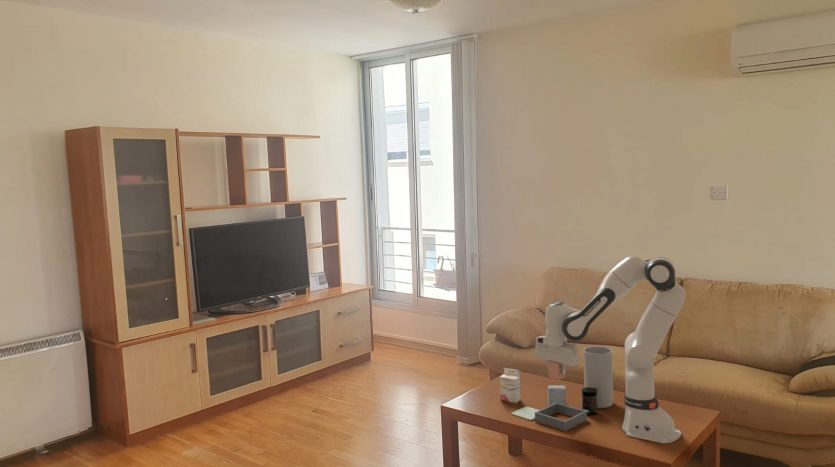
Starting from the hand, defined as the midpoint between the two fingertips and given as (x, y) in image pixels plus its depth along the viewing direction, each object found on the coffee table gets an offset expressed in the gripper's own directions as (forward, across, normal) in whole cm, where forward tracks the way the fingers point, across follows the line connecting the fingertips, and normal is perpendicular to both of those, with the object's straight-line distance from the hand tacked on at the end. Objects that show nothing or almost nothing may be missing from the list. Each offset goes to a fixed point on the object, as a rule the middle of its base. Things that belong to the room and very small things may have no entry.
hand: (556, 371), depth 264 cm
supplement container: (+22, -5, -16) cm, 28 cm away
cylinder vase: (+22, -2, -28) cm, 36 cm away
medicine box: (+22, +11, -14) cm, 28 cm away
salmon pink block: (+2, 0, 0) cm, 2 cm away
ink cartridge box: (+22, +31, -5) cm, 38 cm away
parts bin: (+21, -1, 0) cm, 21 cm away
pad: (+22, +14, +3) cm, 26 cm away
